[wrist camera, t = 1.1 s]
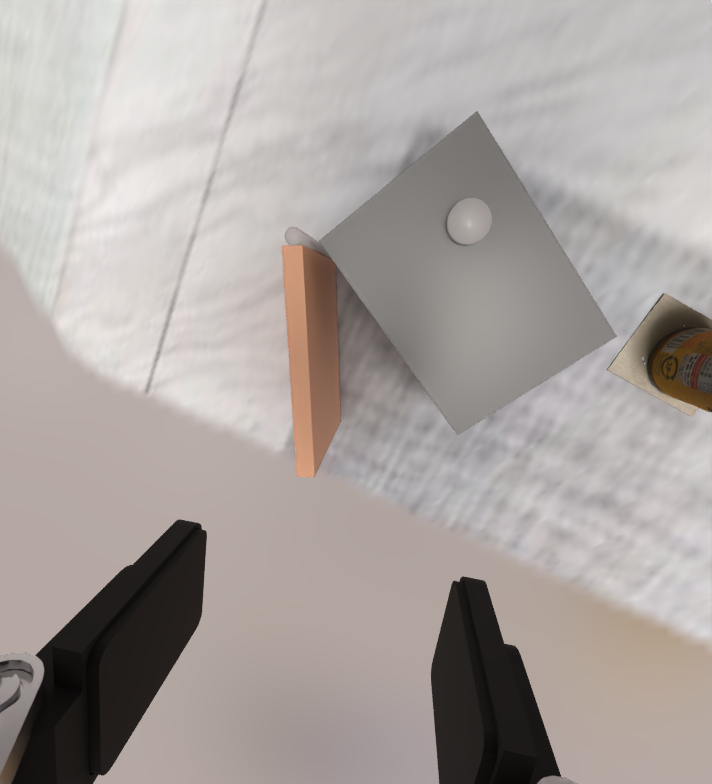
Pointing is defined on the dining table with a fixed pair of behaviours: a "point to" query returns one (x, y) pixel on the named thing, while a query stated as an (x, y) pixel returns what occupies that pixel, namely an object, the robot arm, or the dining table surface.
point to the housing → (468, 278)
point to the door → (311, 347)
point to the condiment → (671, 356)
